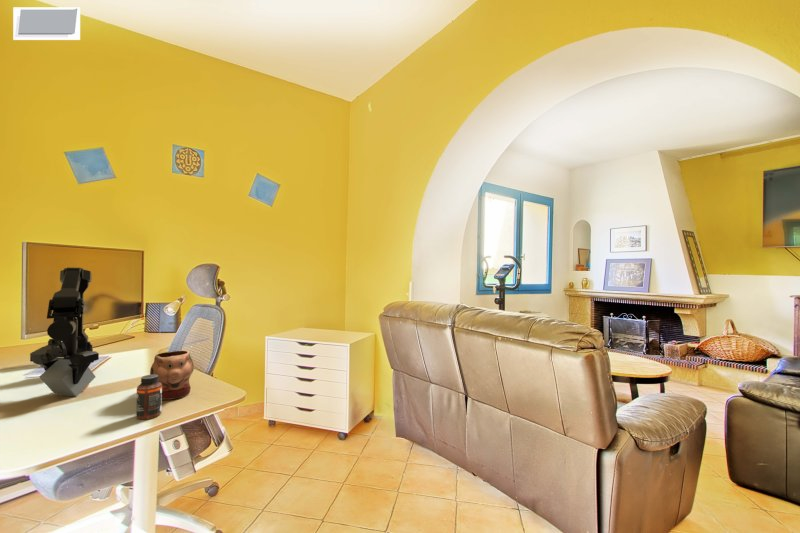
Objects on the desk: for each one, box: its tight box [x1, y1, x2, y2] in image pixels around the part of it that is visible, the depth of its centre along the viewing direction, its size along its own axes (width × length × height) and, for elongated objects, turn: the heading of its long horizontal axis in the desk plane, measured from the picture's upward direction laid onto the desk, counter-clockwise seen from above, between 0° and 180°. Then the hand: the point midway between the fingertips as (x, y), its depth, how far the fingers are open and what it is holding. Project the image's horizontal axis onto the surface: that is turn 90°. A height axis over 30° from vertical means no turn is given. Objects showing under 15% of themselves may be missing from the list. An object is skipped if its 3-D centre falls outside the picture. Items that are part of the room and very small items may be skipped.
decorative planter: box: [149, 350, 195, 400], centre depth 119 cm, size 20×12×14 cm, turn 44°
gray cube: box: [38, 359, 97, 397], centre depth 115 cm, size 8×8×9 cm
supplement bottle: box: [135, 374, 163, 420], centre depth 102 cm, size 6×6×11 cm
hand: (64, 383), depth 114 cm, fingers closed on gray cube, 8 cm apart
